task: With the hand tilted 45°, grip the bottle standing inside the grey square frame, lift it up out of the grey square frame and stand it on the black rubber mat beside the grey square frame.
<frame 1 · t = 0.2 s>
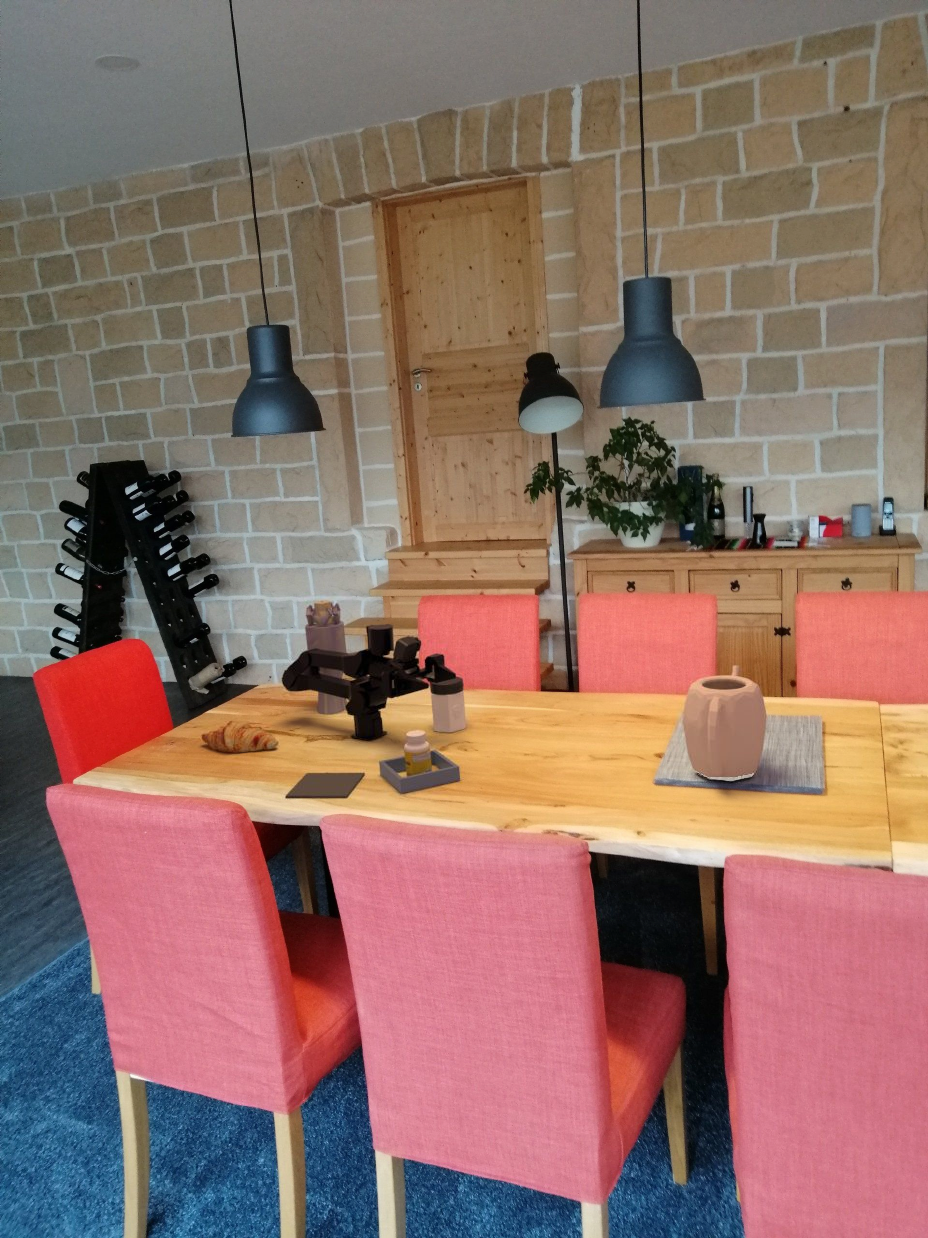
hand: (442, 681, 207), 17 cm above the table, tool horizontal, fingers open, 9 cm apart
vase: (333, 709, 252), on the table
mat: (326, 786, 195), on the table
croissant: (240, 749, 225), on the table
jar: (449, 728, 229), on the table
grey square frame: (419, 777, 196), on the table
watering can: (726, 772, 187), on the table
supplement bottle: (419, 778, 196), resting in grey square frame
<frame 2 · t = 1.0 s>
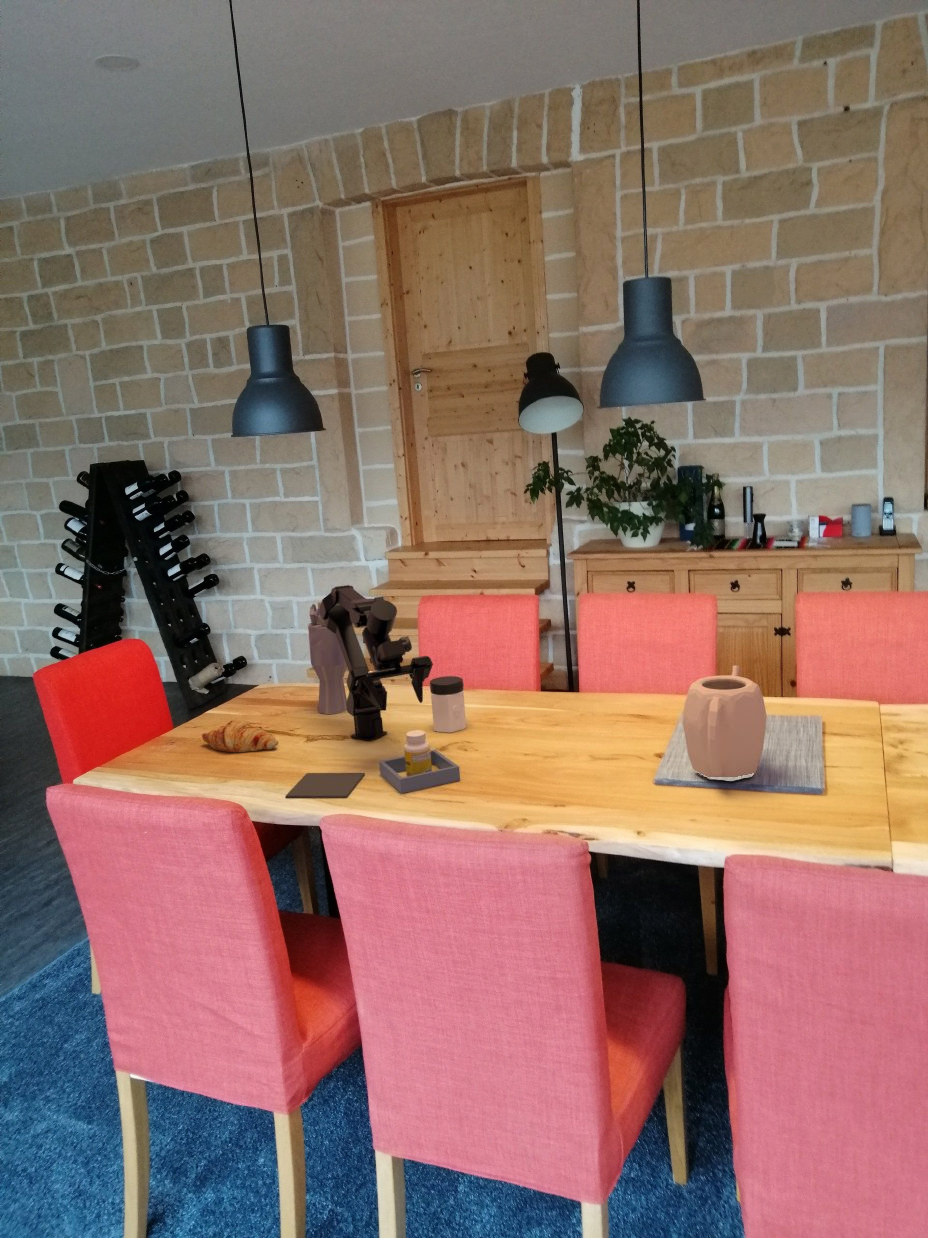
hand: (401, 705, 200), 14 cm above the table, tool tilted 45°, fingers open, 9 cm apart
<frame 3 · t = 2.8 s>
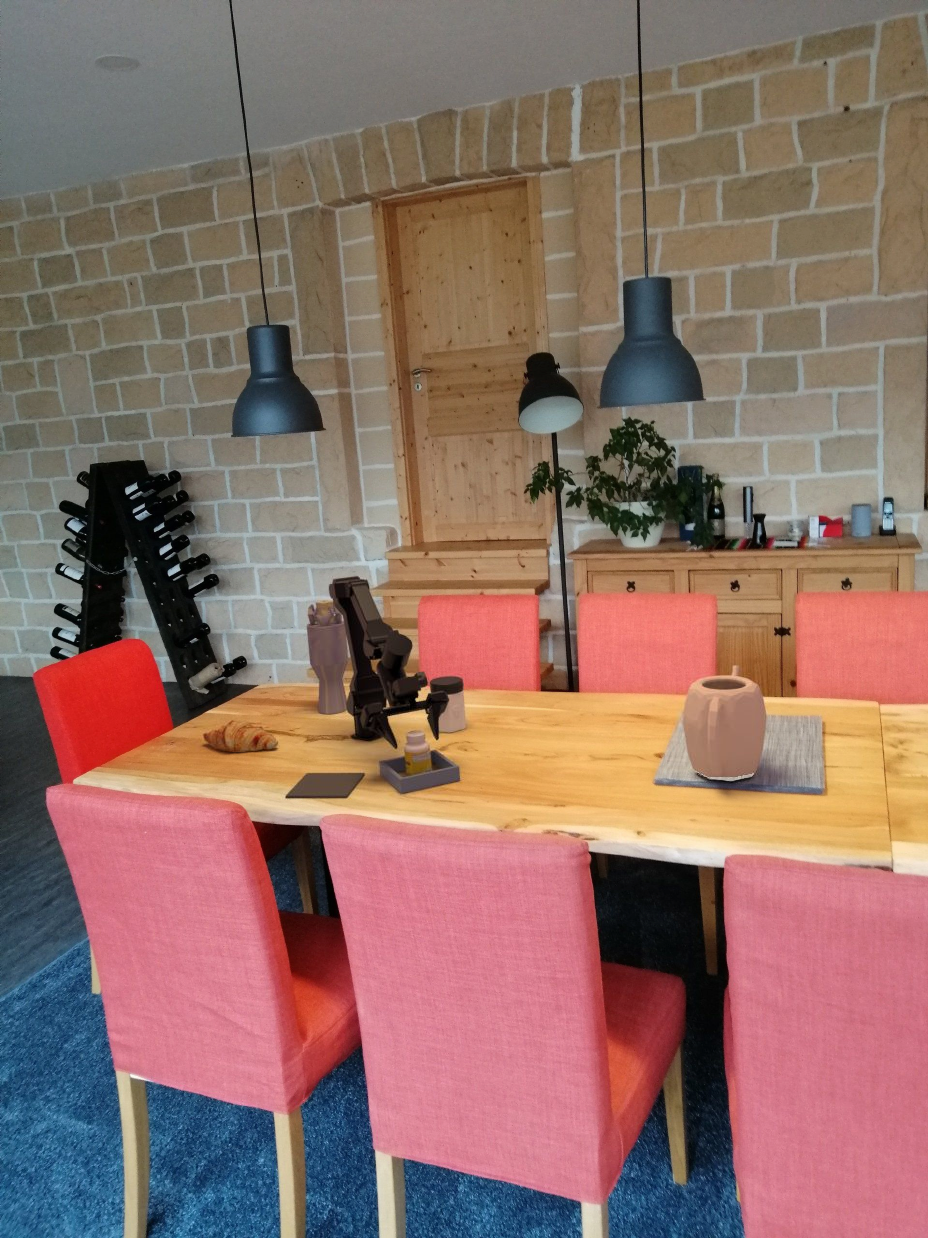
hand: (417, 743, 194), 8 cm above the table, tool tilted 45°, fingers open, 9 cm apart
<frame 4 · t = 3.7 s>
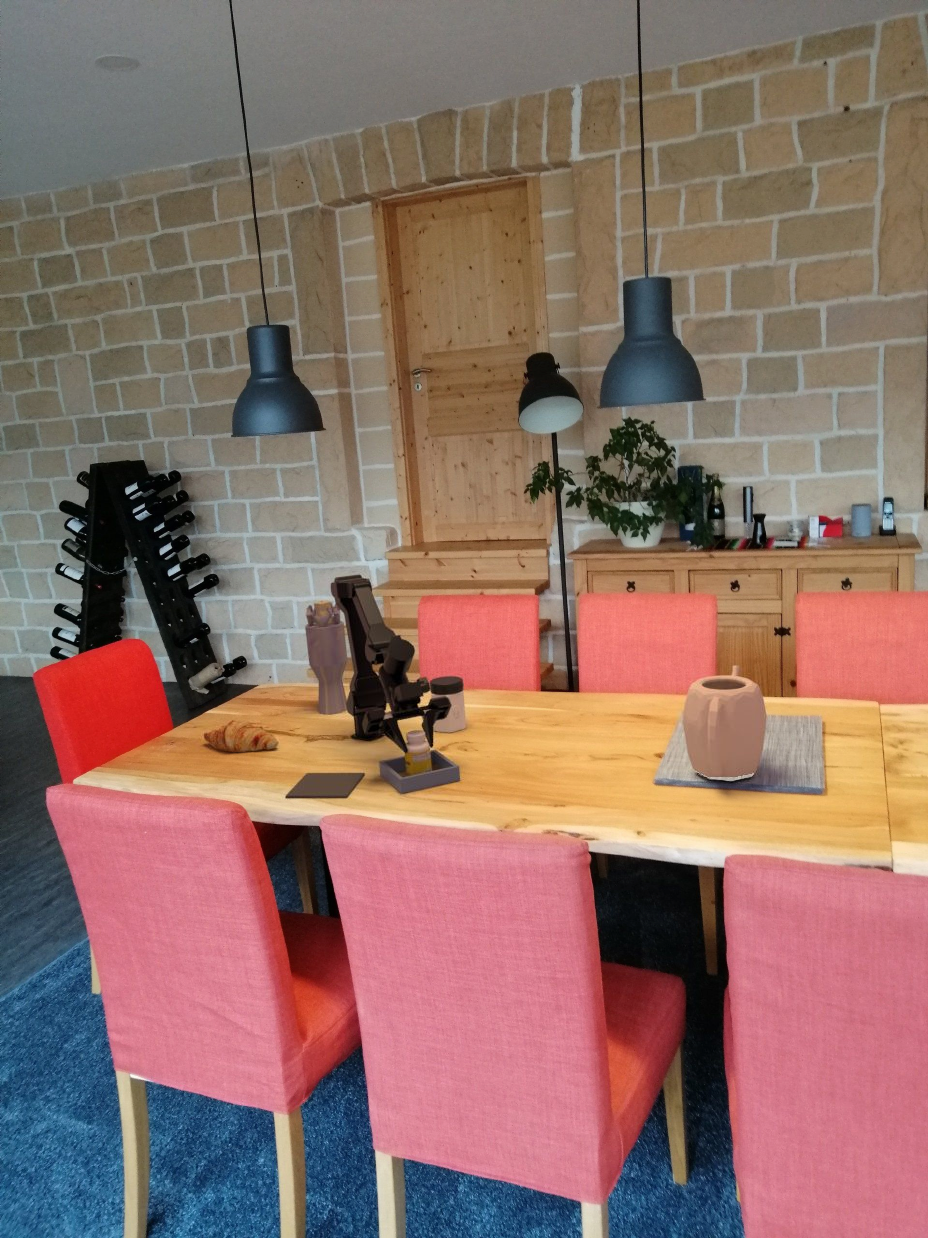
hand: (419, 749, 193), 7 cm above the table, tool tilted 45°, fingers closed on supplement bottle, 5 cm apart
supplement bottle: (419, 778, 196), resting in grey square frame, touching gripper
everything else where it was.
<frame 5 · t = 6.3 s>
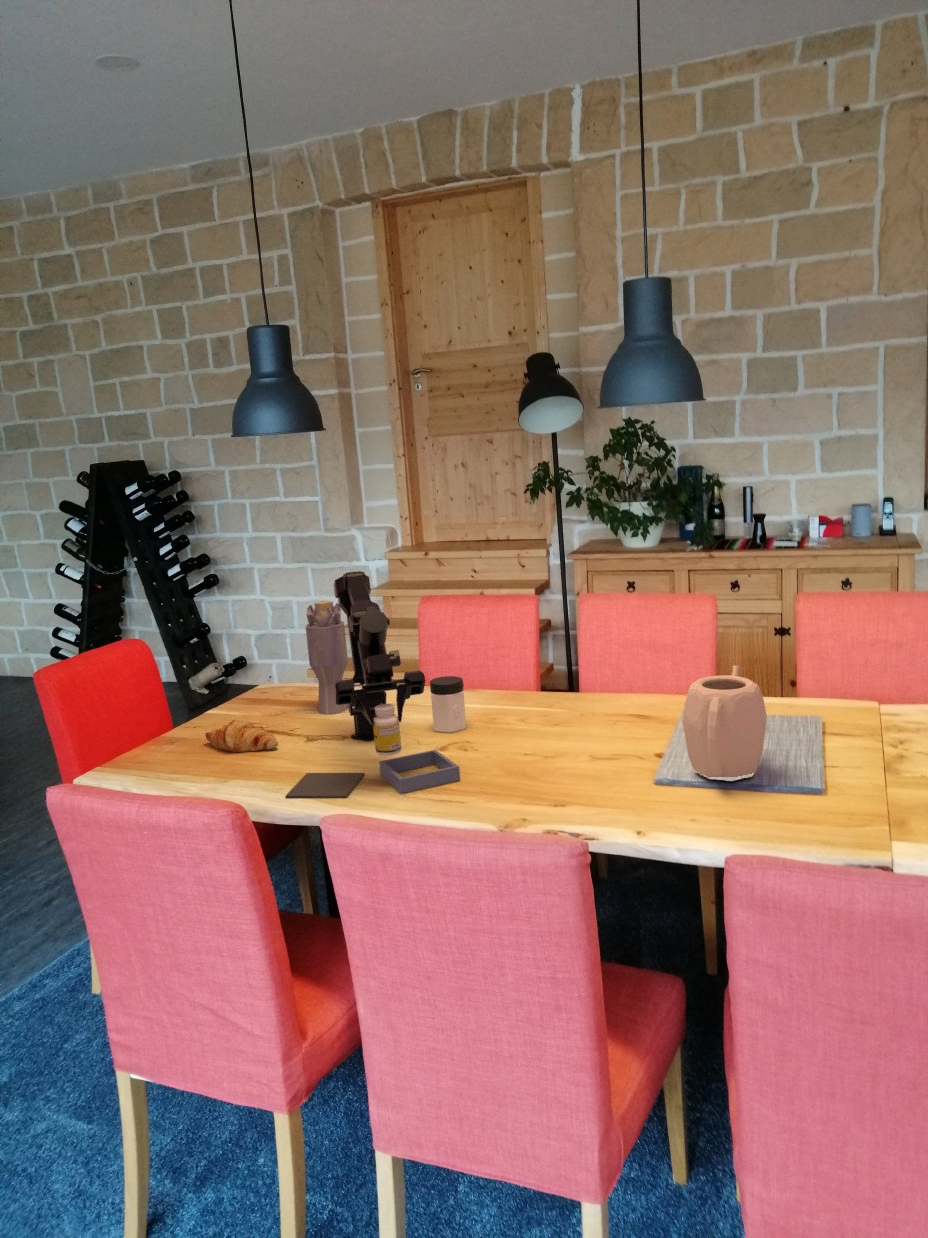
hand: (386, 723, 190), 13 cm above the table, tool tilted 45°, fingers closed on supplement bottle, 5 cm apart
supplement bottle: (388, 752, 193), point 6 cm above the table, touching gripper
everything else where it was.
when the fingers open (8 cm above the table, at t = 9.0 s): supplement bottle stays where it is, resting on mat.
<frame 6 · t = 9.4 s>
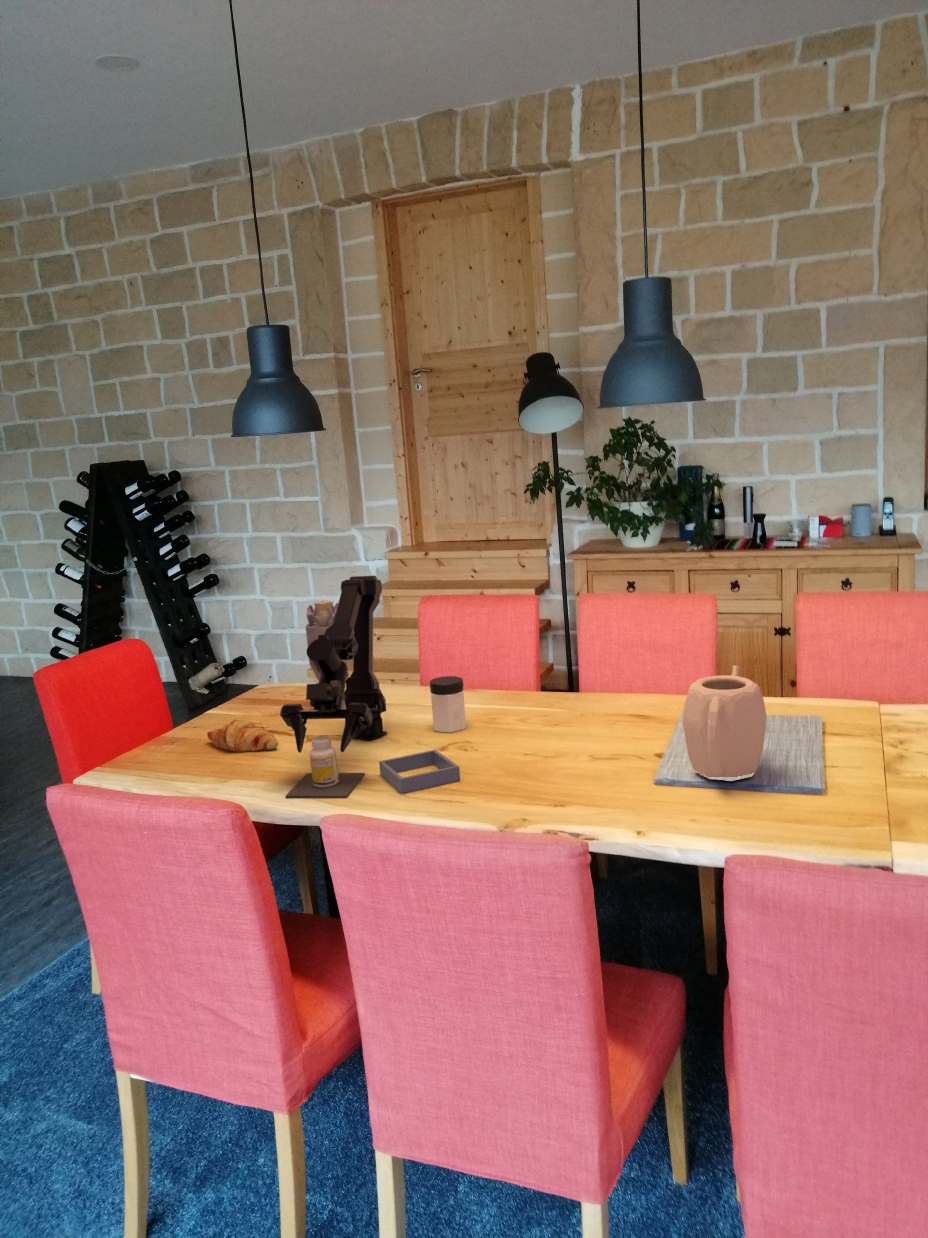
hand: (320, 751, 192), 8 cm above the table, tool tilted 45°, fingers open, 9 cm apart
supplement bottle: (326, 784, 195), resting on mat
everything else where it was.
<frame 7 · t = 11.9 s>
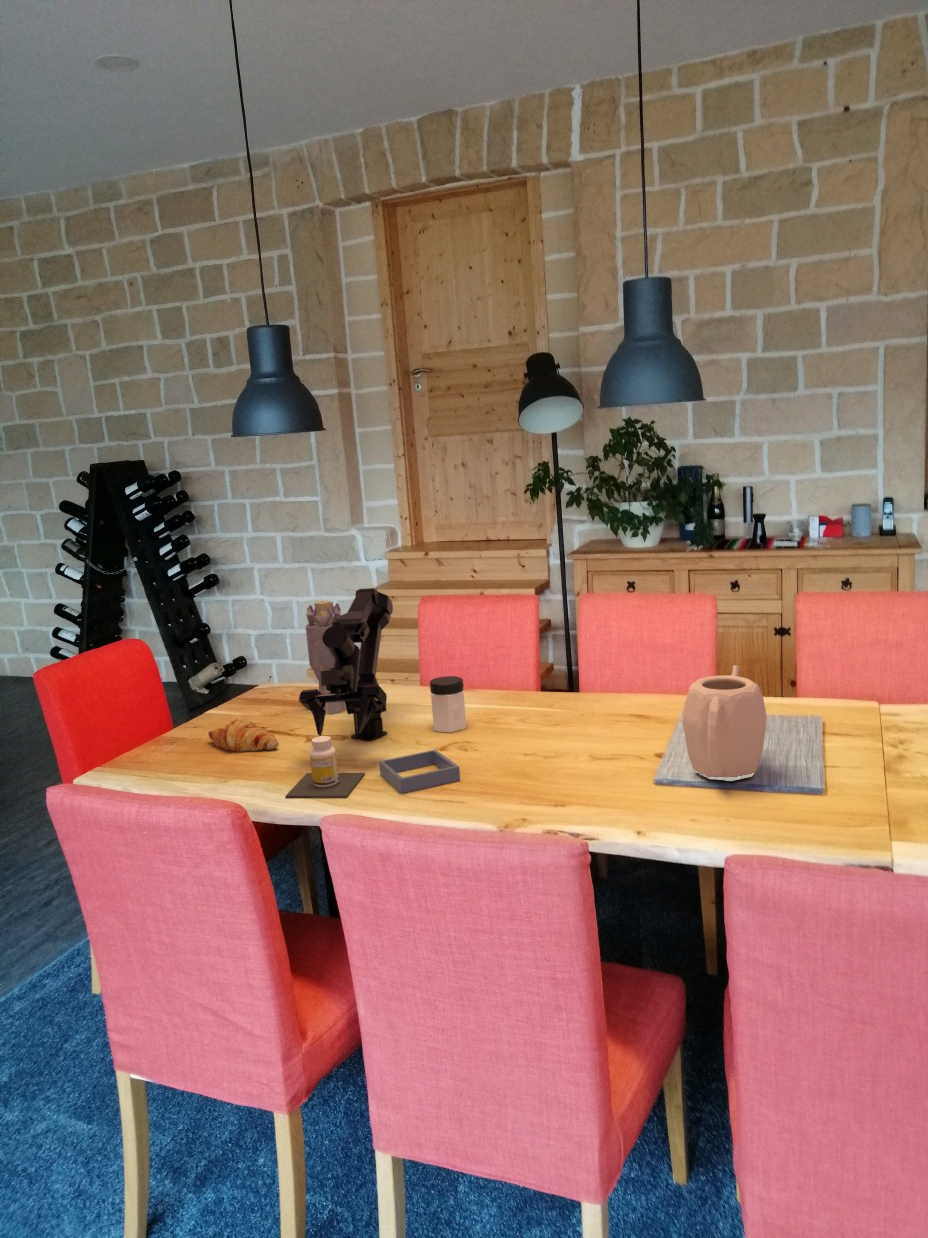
hand: (339, 733, 202), 8 cm above the table, tool tilted 40°, fingers open, 9 cm apart
nothing on the table moved.
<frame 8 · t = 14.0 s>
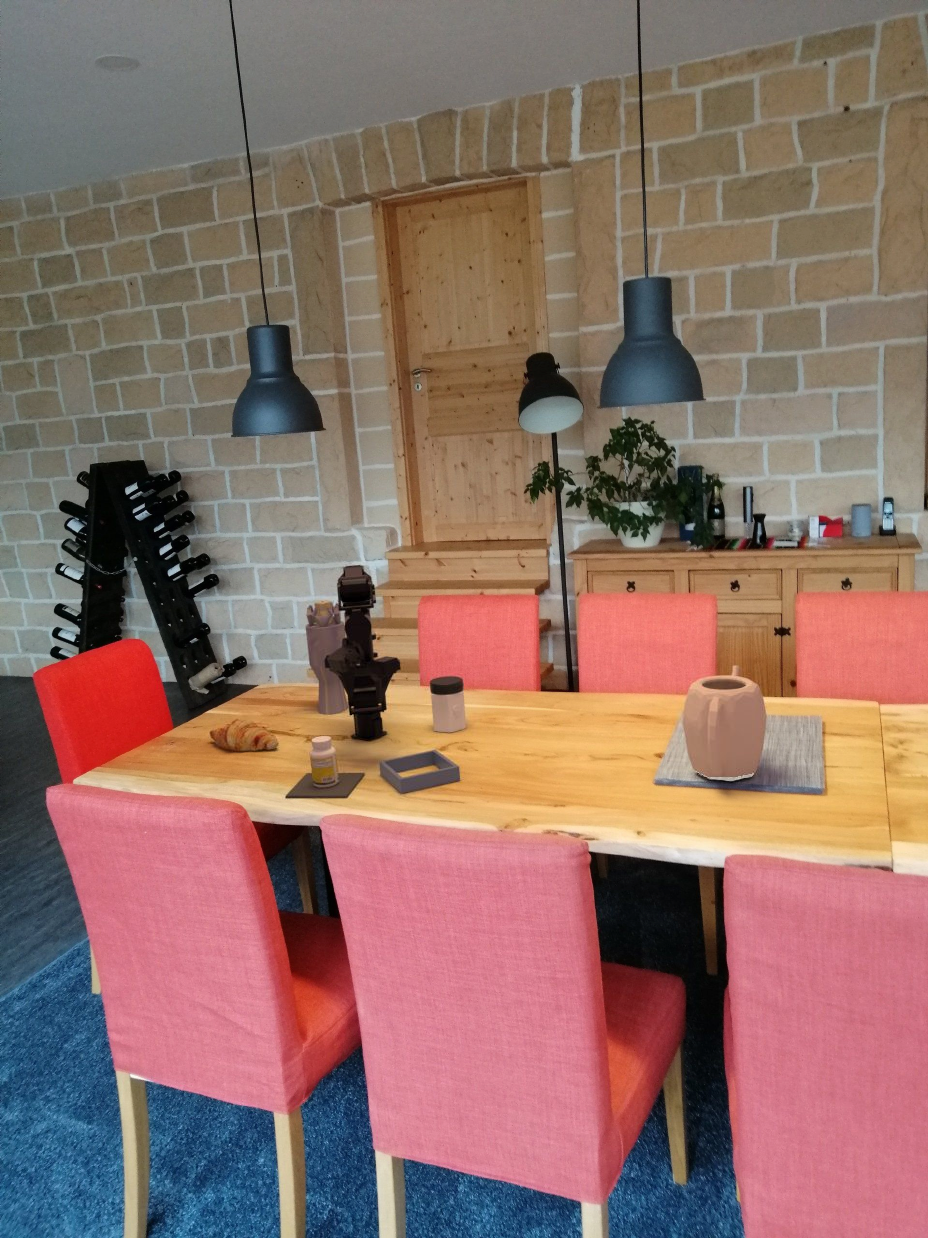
hand: (365, 699, 210), 13 cm above the table, tool pointing down, fingers open, 9 cm apart
at the end: supplement bottle inside the target area on the mat (0.1 cm from its centre), point 0.3 cm above the mat's base; supplement bottle tilted 0°; the gripper is holding nothing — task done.
